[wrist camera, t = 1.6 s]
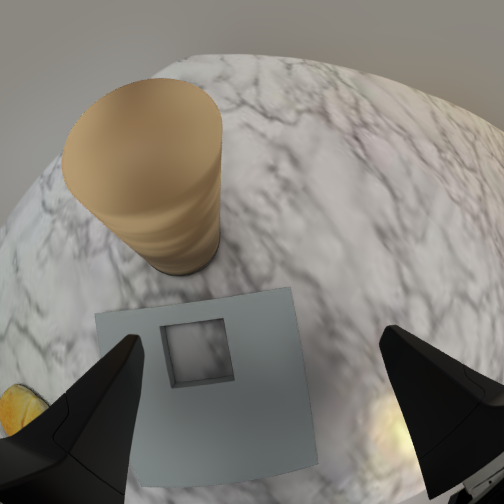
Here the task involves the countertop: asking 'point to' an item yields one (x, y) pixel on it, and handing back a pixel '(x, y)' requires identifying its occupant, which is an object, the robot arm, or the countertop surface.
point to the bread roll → (19, 408)
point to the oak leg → (152, 171)
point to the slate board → (220, 395)
